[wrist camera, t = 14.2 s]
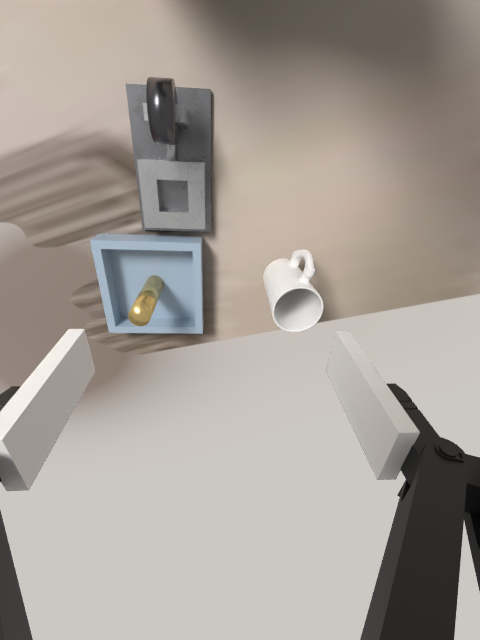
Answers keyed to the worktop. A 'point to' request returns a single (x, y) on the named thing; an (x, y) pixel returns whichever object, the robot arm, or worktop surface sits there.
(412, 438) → the robot arm
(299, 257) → the mug
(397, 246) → the worktop surface
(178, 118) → the tensioner
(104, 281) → the tray
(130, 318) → the pin
